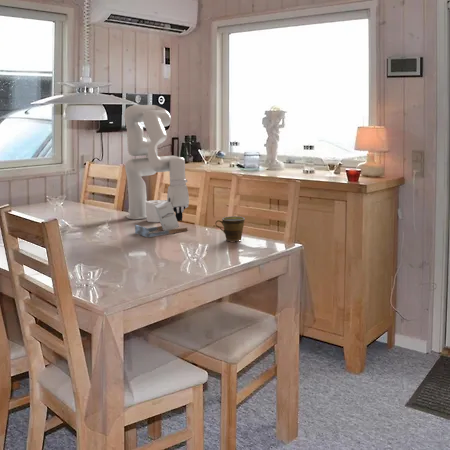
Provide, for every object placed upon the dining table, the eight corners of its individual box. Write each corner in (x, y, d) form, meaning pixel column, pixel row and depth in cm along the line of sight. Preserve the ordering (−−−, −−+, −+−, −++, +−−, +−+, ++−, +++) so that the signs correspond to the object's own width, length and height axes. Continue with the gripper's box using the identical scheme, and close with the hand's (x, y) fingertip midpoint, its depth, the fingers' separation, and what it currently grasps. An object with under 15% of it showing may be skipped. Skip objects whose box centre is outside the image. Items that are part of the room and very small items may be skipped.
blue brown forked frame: (135, 233, 293) (134, 224, 292) (174, 226, 306) (174, 219, 305) (147, 237, 284) (146, 228, 283) (187, 230, 297) (187, 222, 296)
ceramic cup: (244, 237, 280) (243, 216, 278) (245, 242, 270) (245, 220, 268) (215, 238, 279) (215, 216, 277) (216, 243, 270) (215, 221, 268)
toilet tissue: (142, 221, 321) (141, 202, 319) (155, 217, 331) (155, 199, 329) (159, 223, 316) (158, 204, 314) (172, 219, 326) (171, 200, 324)
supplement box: (165, 232, 294) (156, 208, 290) (162, 229, 301) (154, 205, 297) (179, 226, 295) (171, 202, 292) (176, 223, 302) (168, 200, 299)
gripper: (186, 180, 303) (187, 217, 307) (160, 183, 295) (161, 221, 298) (195, 182, 297) (196, 219, 301) (168, 185, 289) (170, 223, 292)
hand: (179, 220), depth 300 cm, fingers closed
